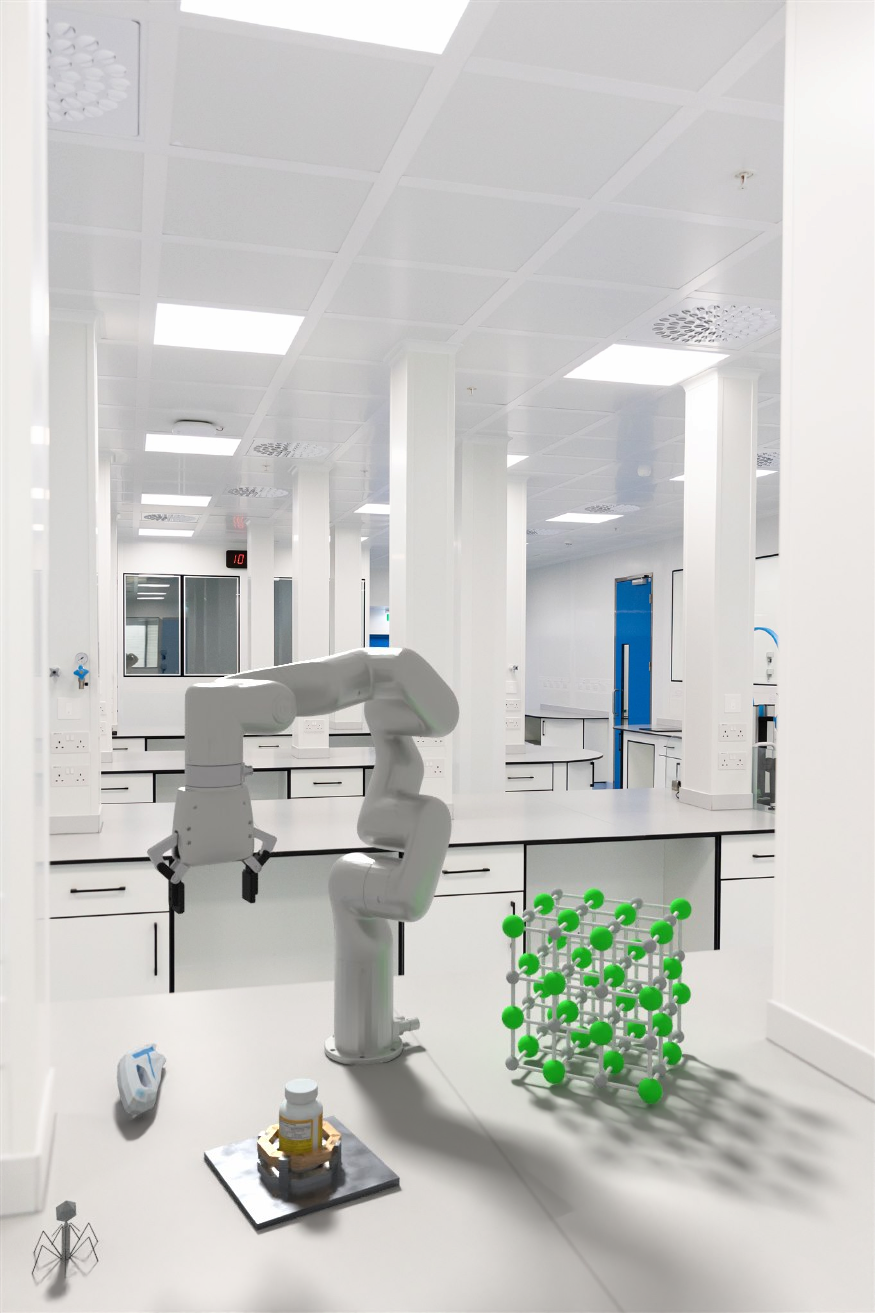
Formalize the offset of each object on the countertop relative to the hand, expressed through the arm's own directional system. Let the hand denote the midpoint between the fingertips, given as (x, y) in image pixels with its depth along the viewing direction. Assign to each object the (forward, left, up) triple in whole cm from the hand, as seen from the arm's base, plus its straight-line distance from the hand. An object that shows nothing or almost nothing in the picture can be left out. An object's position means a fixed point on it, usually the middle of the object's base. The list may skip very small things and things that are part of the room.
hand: (214, 906), depth 129 cm
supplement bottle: (-6, +15, -29) cm, 33 cm away
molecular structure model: (-59, +9, -31) cm, 67 cm away
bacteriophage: (+22, +18, -31) cm, 42 cm away
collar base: (-6, +15, -30) cm, 34 cm away
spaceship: (+2, -13, -31) cm, 34 cm away
